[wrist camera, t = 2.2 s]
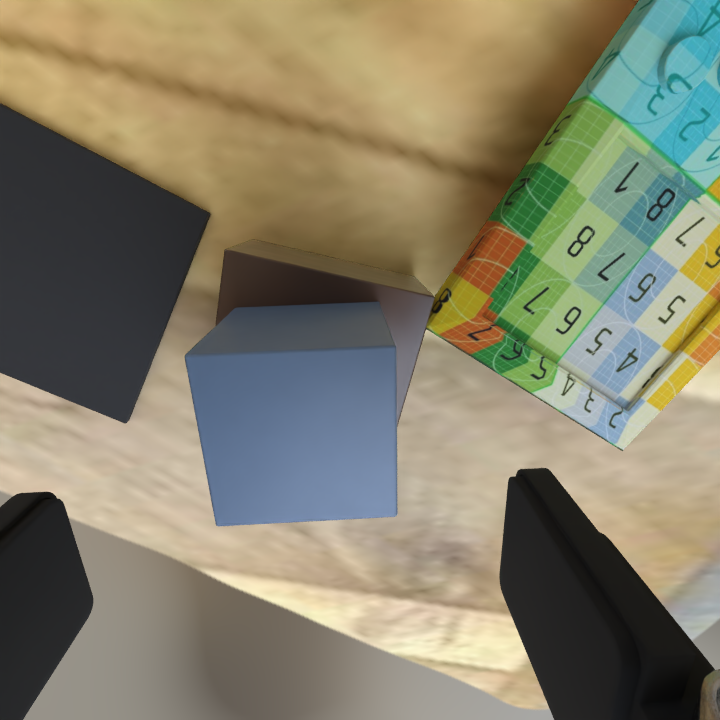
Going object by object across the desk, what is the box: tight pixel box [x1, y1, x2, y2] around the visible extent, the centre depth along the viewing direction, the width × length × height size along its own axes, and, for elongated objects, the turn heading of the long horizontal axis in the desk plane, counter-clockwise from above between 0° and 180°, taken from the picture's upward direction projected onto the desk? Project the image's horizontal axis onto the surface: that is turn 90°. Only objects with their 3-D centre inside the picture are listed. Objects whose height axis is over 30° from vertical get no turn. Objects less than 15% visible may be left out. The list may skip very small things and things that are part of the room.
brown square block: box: [215, 239, 435, 426], centre depth 19 cm, size 8×8×5 cm
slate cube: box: [185, 302, 397, 526], centre depth 14 cm, size 6×6×6 cm
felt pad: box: [0, 103, 210, 423], centre depth 20 cm, size 14×12×1 cm
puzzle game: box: [426, 0, 720, 451], centre depth 18 cm, size 12×5×20 cm
